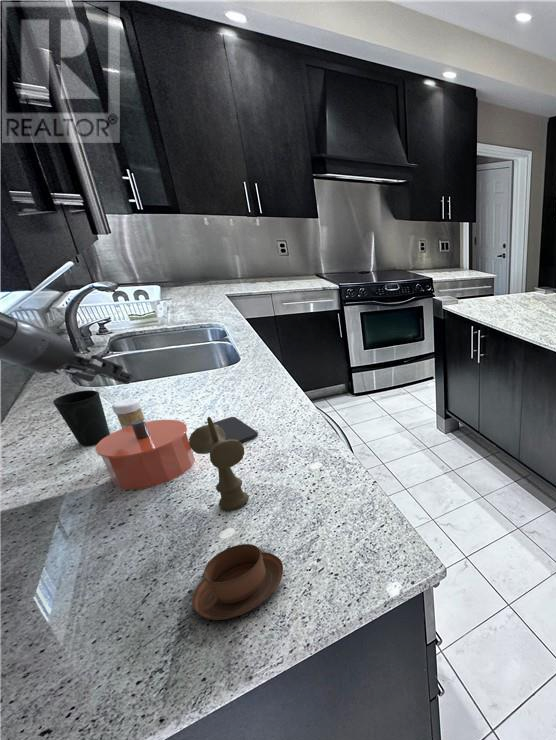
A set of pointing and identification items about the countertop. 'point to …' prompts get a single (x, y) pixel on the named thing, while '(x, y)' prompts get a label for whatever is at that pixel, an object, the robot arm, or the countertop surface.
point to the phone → (236, 429)
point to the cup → (84, 416)
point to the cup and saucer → (236, 582)
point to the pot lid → (141, 438)
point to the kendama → (221, 462)
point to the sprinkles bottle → (128, 411)
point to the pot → (151, 466)
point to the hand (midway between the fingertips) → (111, 378)
